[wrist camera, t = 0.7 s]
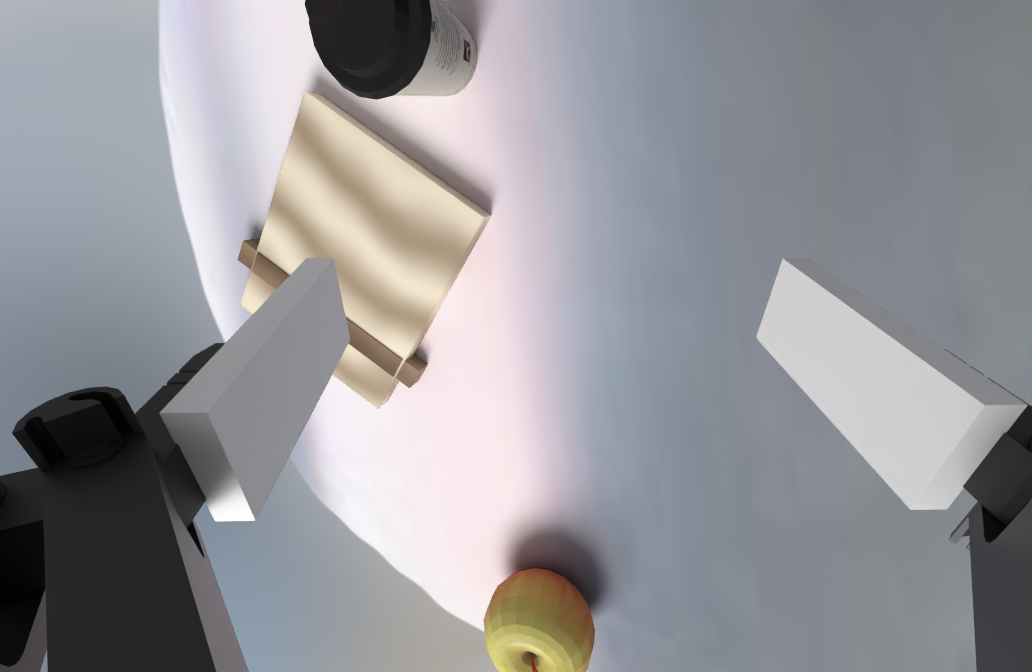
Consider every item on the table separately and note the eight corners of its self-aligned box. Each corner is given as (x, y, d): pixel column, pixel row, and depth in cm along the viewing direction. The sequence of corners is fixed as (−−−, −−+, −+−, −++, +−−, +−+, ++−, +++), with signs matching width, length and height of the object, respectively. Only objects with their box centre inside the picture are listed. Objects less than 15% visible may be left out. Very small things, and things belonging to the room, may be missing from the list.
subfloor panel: (303, 82, 34) (287, 79, 33) (507, 227, 33) (500, 229, 32) (241, 291, 43) (226, 295, 42) (400, 411, 42) (390, 419, 41)
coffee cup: (514, 39, 29) (443, -17, 20) (458, 136, 32) (375, 125, 23) (430, -30, 29) (324, -115, 20) (383, 74, 32) (272, 39, 23)
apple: (623, 606, 42) (612, 697, 35) (555, 645, 46) (534, 733, 39) (543, 534, 42) (516, 610, 35) (483, 579, 46) (448, 655, 39)
